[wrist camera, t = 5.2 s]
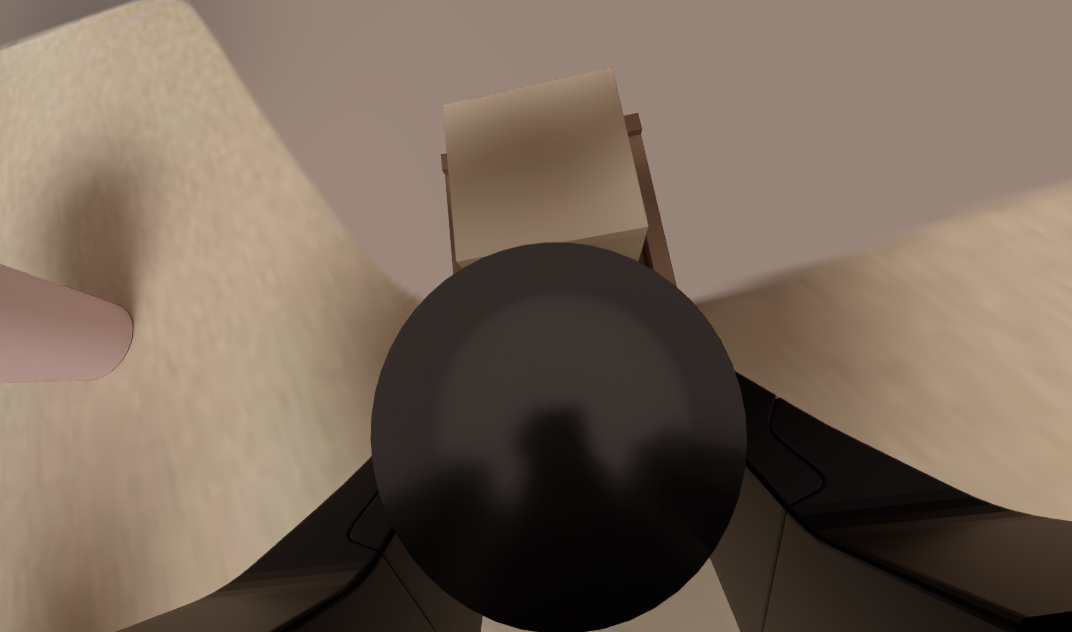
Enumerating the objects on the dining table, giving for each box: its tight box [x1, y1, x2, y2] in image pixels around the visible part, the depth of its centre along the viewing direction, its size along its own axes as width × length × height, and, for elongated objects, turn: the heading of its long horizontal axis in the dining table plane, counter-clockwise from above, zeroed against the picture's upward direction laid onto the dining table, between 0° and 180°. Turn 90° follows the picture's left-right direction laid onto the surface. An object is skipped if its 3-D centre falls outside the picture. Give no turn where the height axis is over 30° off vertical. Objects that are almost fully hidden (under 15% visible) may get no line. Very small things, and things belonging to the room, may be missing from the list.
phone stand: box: [371, 113, 747, 632], centre depth 10 cm, size 13×8×12 cm, turn 8°
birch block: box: [443, 67, 648, 268], centre depth 13 cm, size 5×5×5 cm
